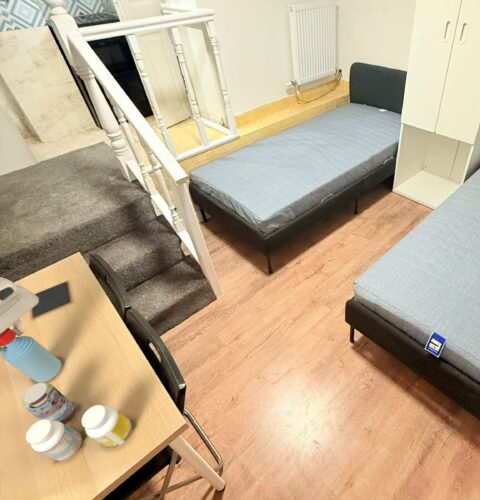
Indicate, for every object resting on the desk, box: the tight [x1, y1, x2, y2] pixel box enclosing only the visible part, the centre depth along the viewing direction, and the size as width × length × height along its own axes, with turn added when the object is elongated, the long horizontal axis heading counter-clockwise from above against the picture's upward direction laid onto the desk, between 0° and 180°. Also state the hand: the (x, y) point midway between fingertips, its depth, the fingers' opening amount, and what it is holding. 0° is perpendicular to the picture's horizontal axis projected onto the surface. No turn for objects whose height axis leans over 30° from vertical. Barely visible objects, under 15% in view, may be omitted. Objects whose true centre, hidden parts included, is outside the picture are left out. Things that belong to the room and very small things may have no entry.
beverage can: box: [21, 382, 77, 425], centre depth 78 cm, size 6×7×12 cm
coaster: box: [31, 281, 70, 318], centre depth 109 cm, size 10×10×1 cm
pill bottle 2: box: [81, 404, 133, 449], centre depth 75 cm, size 6×6×12 cm
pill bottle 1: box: [25, 419, 83, 462], centre depth 74 cm, size 6×6×11 cm
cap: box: [0, 327, 17, 347], centre depth 79 cm, size 4×4×2 cm
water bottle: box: [1, 335, 63, 383], centre depth 85 cm, size 7×7×18 cm
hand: (10, 341), depth 81 cm, fingers closed on cap, 4 cm apart
